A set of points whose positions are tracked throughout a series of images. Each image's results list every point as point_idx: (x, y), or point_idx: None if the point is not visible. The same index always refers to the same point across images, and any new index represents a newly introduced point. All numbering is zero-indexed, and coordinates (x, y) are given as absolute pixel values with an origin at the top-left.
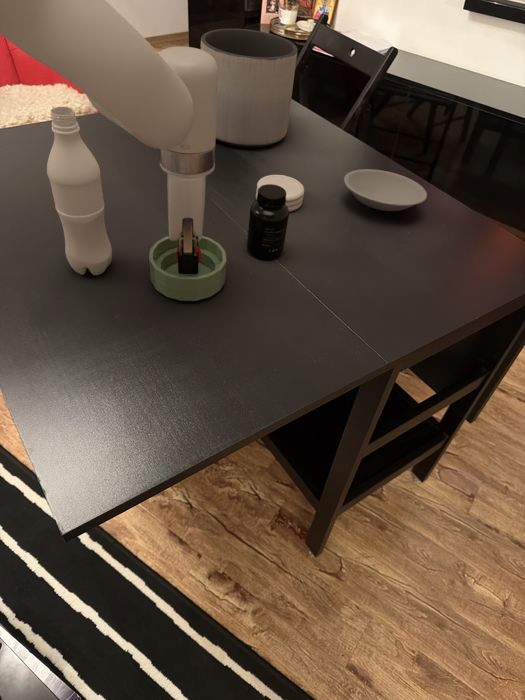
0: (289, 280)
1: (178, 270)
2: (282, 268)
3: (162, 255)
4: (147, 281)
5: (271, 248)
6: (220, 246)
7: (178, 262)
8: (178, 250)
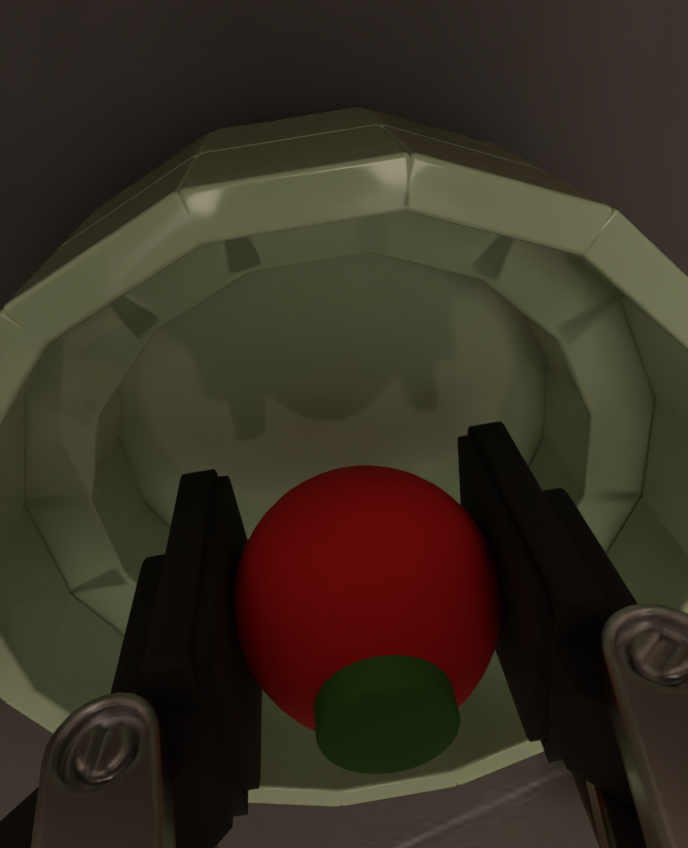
0: (412, 819)
1: (177, 494)
2: (503, 792)
3: (496, 243)
4: (241, 80)
5: (596, 837)
6: (529, 752)
7: (165, 567)
8: (325, 579)
